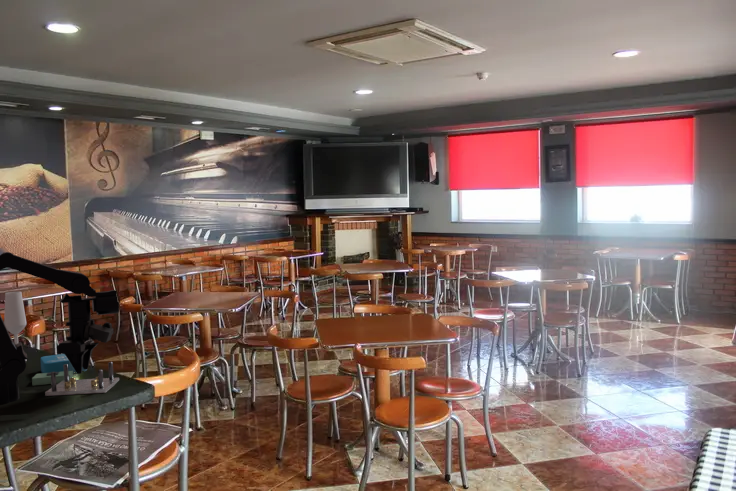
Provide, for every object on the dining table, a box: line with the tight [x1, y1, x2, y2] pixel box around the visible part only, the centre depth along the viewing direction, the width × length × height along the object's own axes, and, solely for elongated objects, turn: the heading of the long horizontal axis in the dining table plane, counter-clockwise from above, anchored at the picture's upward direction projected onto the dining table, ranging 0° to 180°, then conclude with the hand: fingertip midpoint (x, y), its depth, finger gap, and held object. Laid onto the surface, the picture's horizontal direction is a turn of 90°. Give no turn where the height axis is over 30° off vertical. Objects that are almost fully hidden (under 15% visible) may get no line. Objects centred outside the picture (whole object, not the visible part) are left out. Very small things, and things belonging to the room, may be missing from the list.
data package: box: [39, 353, 88, 374], centre depth 194 cm, size 12×4×12 cm
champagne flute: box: [3, 291, 28, 362], centre depth 208 cm, size 7×7×24 cm
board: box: [31, 371, 74, 387], centre depth 183 cm, size 6×10×3 cm, turn 106°
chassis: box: [44, 361, 120, 397], centre depth 174 cm, size 12×16×6 cm
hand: (82, 371), depth 174 cm, fingers open, 4 cm apart
